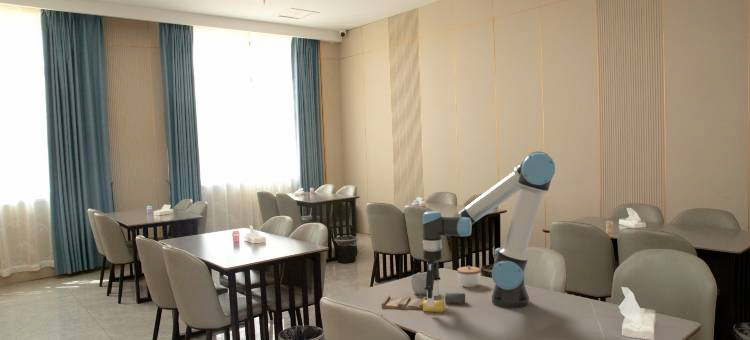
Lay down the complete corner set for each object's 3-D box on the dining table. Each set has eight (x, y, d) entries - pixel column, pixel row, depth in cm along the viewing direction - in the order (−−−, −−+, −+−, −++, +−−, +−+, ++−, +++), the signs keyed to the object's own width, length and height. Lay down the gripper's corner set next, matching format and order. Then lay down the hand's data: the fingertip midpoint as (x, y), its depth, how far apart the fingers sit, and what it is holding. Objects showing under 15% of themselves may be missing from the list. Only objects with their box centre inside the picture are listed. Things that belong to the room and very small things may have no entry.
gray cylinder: (465, 304, 223) (465, 294, 225) (464, 303, 219) (464, 292, 221) (446, 303, 225) (446, 293, 227) (445, 302, 221) (445, 292, 223)
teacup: (436, 296, 234) (435, 278, 234) (411, 296, 235) (411, 279, 234) (433, 287, 248) (432, 270, 248) (410, 288, 249) (409, 271, 248)
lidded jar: (453, 285, 249) (452, 266, 249) (467, 281, 256) (466, 262, 256) (471, 290, 241) (471, 269, 241) (485, 284, 248) (485, 265, 248)
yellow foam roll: (444, 301, 216) (442, 300, 212) (444, 312, 214) (442, 311, 210) (424, 300, 218) (423, 299, 214) (424, 311, 216) (422, 310, 212)
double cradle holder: (426, 301, 227) (426, 296, 227) (422, 309, 216) (421, 304, 216) (388, 300, 231) (387, 295, 231) (381, 308, 221) (381, 303, 221)
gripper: (428, 242, 228) (428, 291, 229) (417, 255, 204) (418, 309, 205) (445, 243, 226) (446, 292, 228) (436, 256, 202) (437, 310, 203)
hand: (433, 300), depth 216 cm, fingers open, 13 cm apart
